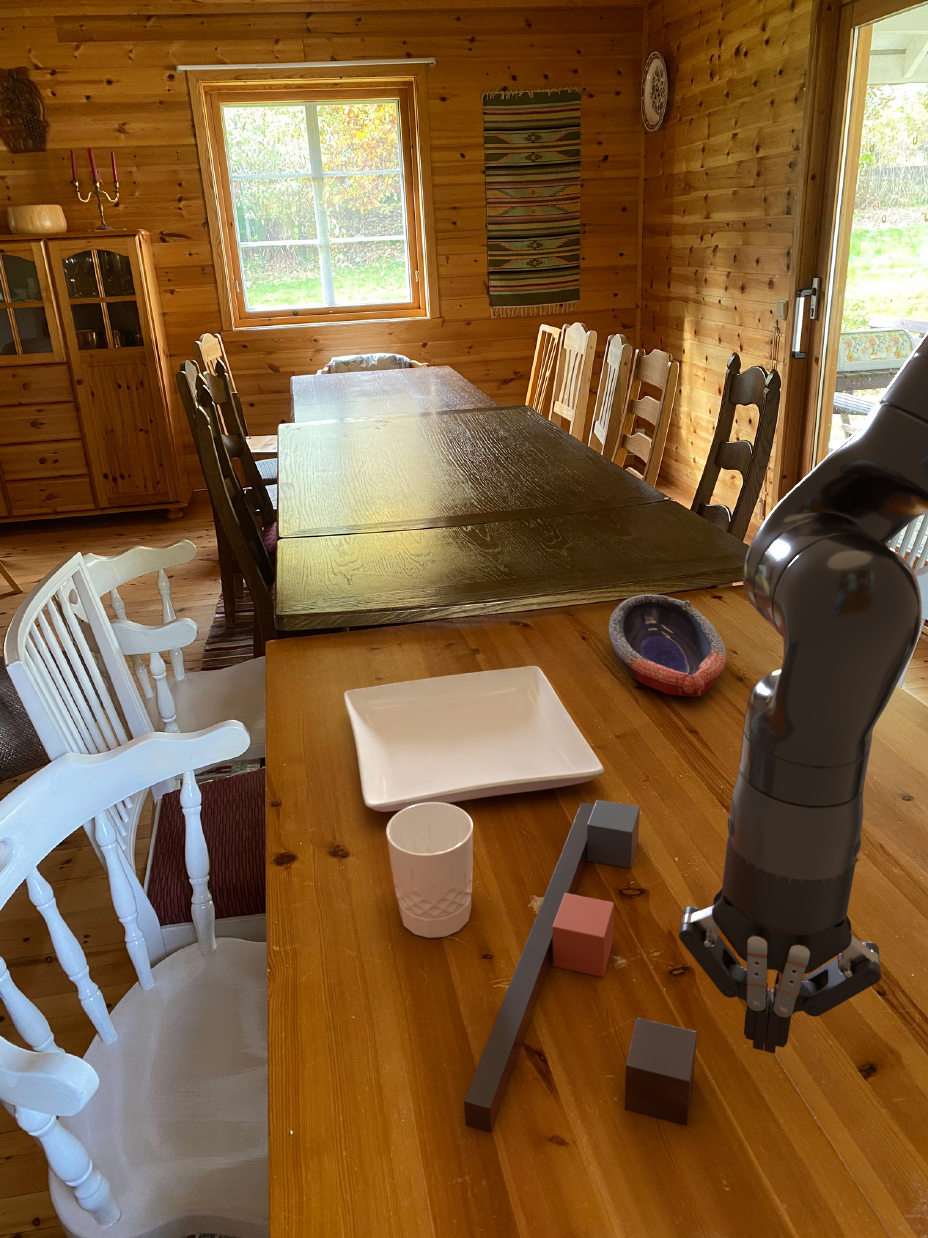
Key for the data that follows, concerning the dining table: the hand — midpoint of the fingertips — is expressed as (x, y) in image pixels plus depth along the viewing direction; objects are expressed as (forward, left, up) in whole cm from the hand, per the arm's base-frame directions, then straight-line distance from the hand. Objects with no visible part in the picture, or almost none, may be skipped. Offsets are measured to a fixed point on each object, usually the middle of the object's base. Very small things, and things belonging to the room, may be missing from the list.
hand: (763, 1041), depth 63 cm
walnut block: (+7, 0, -8) cm, 10 cm away
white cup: (+30, -13, -8) cm, 33 cm away
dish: (+17, -72, -8) cm, 74 cm away
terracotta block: (+15, -12, -8) cm, 21 cm away
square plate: (+37, -41, -8) cm, 56 cm away
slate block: (+16, -27, -8) cm, 32 cm away
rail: (+19, -12, -8) cm, 24 cm away
